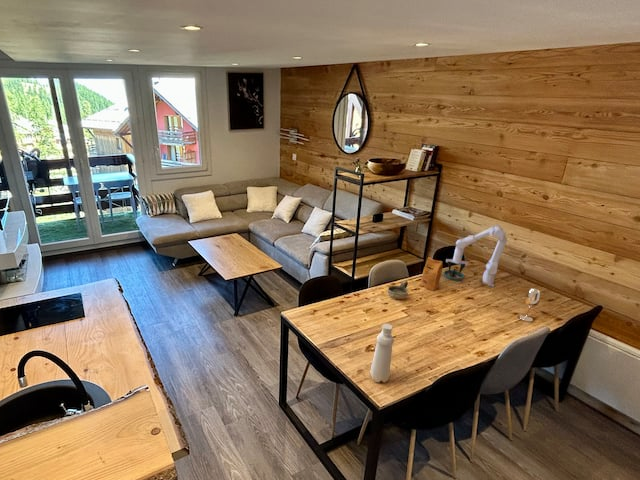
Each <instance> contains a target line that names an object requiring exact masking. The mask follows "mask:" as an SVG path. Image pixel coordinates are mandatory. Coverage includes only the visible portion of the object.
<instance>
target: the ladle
mask: <svg viewBox="0 0 640 480" xmlns="http://www.w3.org/2000/svg"><path fill="white" fill-rule="evenodd" d="M452 270H453V274H450V275H449V276H450V277H454V278H457V275H454V274H455V271H456V268H453V269H452Z"/></svg>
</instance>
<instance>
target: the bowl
mask: <svg viewBox="0 0 640 480" xmlns="http://www.w3.org/2000/svg"><path fill="white" fill-rule="evenodd" d="M408 285H409V283H408V280H402V281H401V283H400V284H399V285H390V286H388V287H387V294H388V295H389V296H390V297H391V298H394V299H397V300H403V299H406V298H407V297H408V295H409V289H408Z"/></svg>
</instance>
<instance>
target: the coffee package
mask: <svg viewBox="0 0 640 480" xmlns="http://www.w3.org/2000/svg"><path fill="white" fill-rule="evenodd" d="M443 263H444V262H443V261H442V260H437V259H433V258H432V257H430V256H428V257H427V259H426V262H425V266H424V267H423V271H422V274H421V278H420V287H423V288H425V289H427V290H430V291H435V290H437V289H439V286H440V282H441V281H440V280H441V277H442V273H443Z"/></svg>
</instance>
